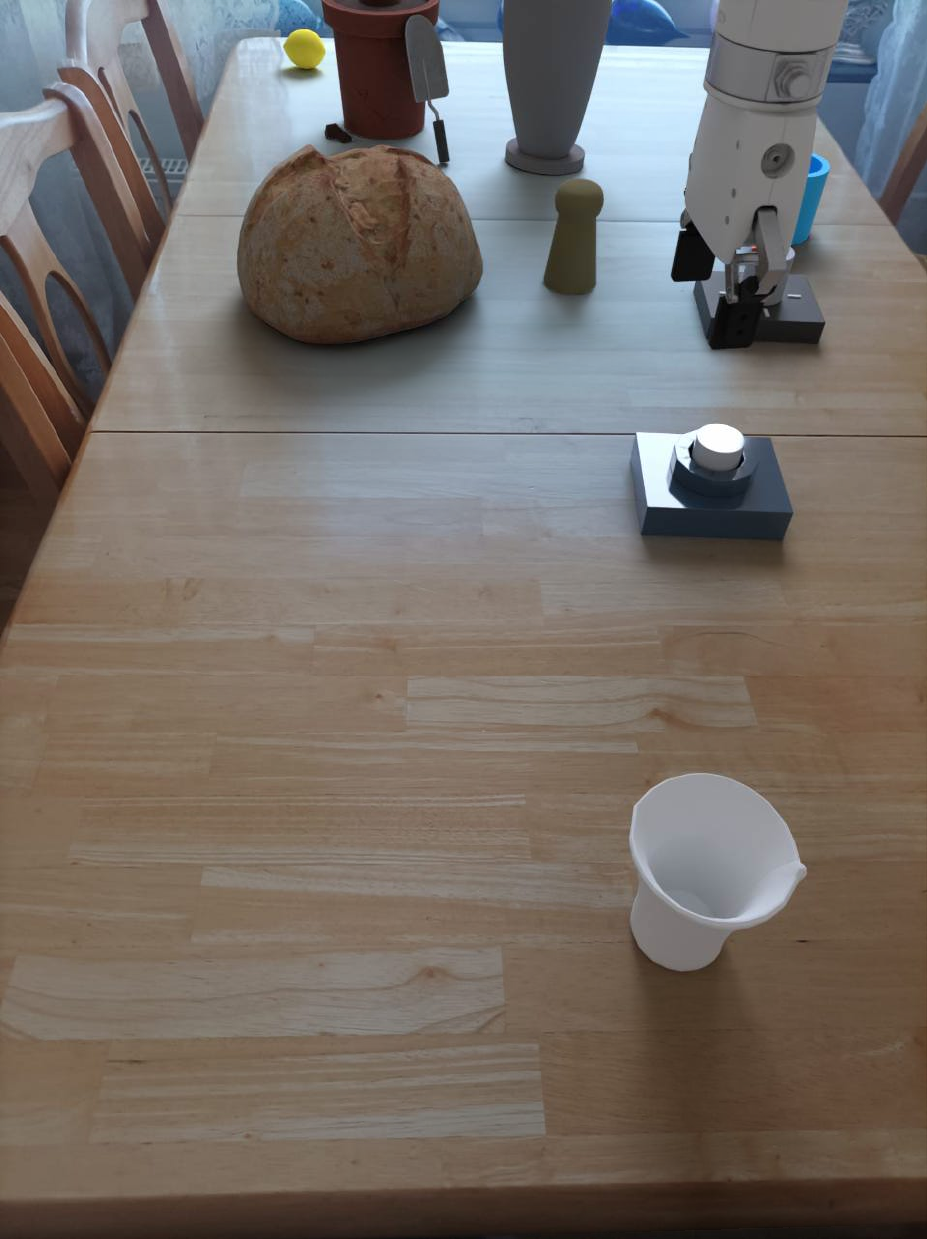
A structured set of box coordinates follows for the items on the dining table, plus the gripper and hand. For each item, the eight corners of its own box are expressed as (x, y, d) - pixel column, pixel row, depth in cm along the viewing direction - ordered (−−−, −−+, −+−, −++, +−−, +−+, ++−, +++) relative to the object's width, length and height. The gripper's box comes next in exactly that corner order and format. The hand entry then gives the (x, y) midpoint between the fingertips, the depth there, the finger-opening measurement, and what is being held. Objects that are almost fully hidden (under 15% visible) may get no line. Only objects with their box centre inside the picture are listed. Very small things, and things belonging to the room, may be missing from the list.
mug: (745, 210, 120) (762, 144, 114) (810, 220, 119) (830, 153, 113) (737, 253, 112) (755, 184, 106) (807, 264, 111) (829, 195, 105)
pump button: (735, 443, 80) (741, 424, 78) (743, 473, 77) (749, 454, 76) (688, 441, 80) (693, 422, 78) (694, 471, 77) (700, 452, 76)
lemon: (332, 65, 150) (330, 26, 146) (320, 76, 147) (317, 37, 143) (292, 59, 151) (288, 21, 147) (279, 70, 148) (274, 32, 144)
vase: (588, 144, 132) (628, -178, 106) (595, 184, 124) (640, -155, 98) (495, 141, 132) (511, -182, 106) (495, 181, 124) (513, -160, 97)
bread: (445, 232, 114) (447, 98, 102) (512, 332, 99) (523, 190, 88) (226, 260, 107) (203, 122, 96) (264, 372, 93) (241, 225, 82)
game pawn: (533, 274, 107) (542, 177, 99) (577, 263, 109) (590, 167, 101) (560, 299, 104) (571, 200, 96) (606, 287, 106) (621, 190, 98)
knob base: (798, 295, 106) (805, 273, 104) (818, 343, 99) (826, 321, 97) (693, 290, 106) (698, 268, 104) (705, 339, 99) (711, 316, 97)
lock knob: (777, 285, 102) (791, 238, 98) (785, 307, 99) (800, 259, 95) (735, 283, 102) (747, 236, 98) (742, 305, 99) (755, 257, 95)
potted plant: (450, 105, 141) (454, -102, 122) (449, 166, 126) (453, -57, 108) (332, 101, 140) (317, -107, 121) (318, 162, 126) (299, -63, 107)
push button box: (760, 465, 85) (776, 420, 82) (782, 541, 79) (800, 496, 75) (629, 460, 85) (639, 415, 82) (640, 535, 79) (651, 489, 75)
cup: (743, 1024, 52) (796, 953, 45) (584, 962, 54) (609, 884, 47) (769, 887, 58) (820, 803, 50) (623, 835, 60) (652, 747, 53)
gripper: (882, 117, 54) (796, 373, 67) (775, 20, 65) (719, 254, 78) (757, 121, 53) (695, 379, 66) (671, 22, 64) (632, 259, 77)
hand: (708, 311), depth 72 cm, fingers open, 9 cm apart
